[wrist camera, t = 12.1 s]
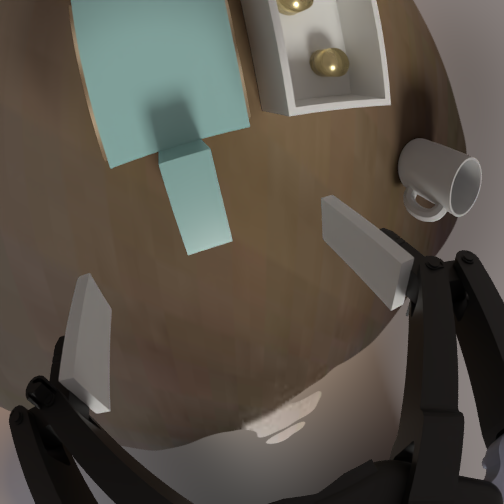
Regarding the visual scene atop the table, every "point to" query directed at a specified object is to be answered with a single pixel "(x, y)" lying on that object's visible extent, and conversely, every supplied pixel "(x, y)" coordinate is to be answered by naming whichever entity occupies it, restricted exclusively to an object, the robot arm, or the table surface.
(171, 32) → the lid
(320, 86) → the tub
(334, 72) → the gold round piece
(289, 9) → the gold metallic ball
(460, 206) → the cup
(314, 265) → the table surface
